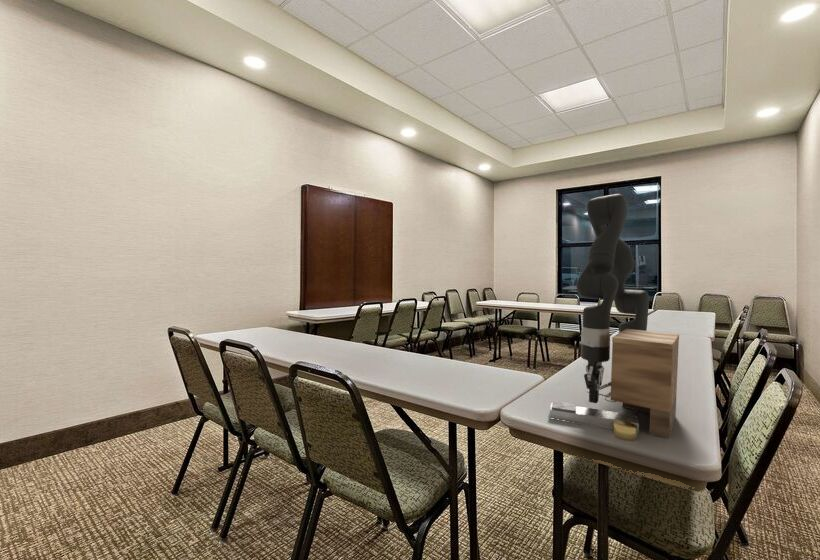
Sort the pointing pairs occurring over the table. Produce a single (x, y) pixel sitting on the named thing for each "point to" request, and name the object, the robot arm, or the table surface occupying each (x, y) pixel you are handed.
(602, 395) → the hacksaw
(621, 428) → the puck
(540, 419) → the table surface
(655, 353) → the wooden grain block
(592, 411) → the bar
